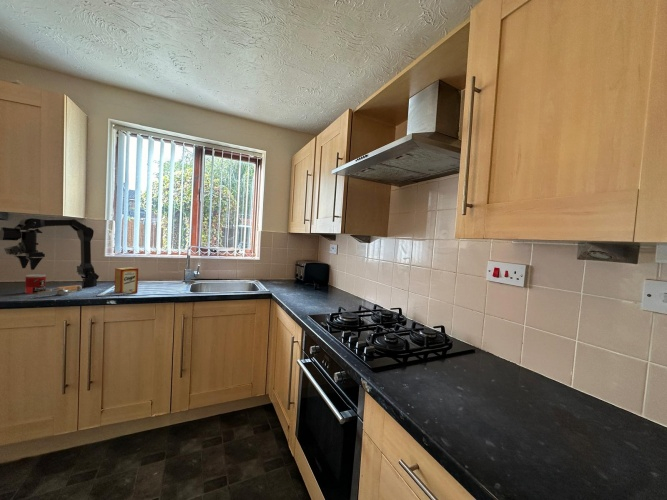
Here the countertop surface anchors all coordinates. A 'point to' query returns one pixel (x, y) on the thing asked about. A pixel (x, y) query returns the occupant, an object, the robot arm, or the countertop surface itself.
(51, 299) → the countertop surface
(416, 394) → the countertop surface
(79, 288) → the tool board
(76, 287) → the orange rectangular bar
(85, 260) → the robot arm
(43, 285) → the canned food
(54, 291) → the crank handle
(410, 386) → the countertop surface
